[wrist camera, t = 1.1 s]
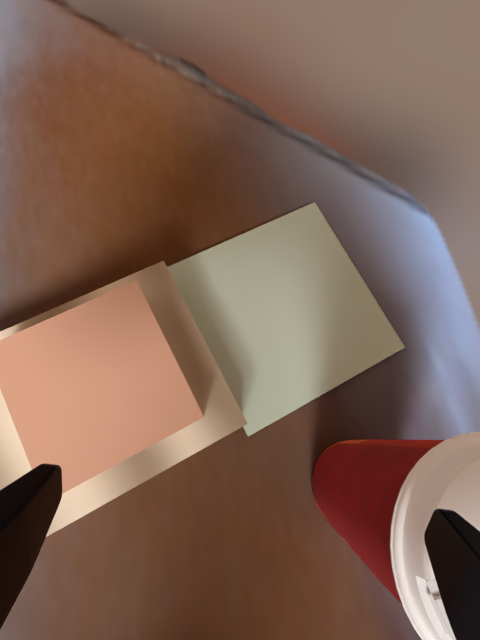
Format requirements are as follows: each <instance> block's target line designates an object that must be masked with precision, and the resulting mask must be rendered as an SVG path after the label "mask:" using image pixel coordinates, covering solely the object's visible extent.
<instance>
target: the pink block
mask: <svg viewBox="0 0 480 640" xmlns="http://www.w3.org/2000/svg"><path fill="white" fill-rule="evenodd" d="M0 390H1V392H2V395H3V397H4V400H5V403H6V405H7V408H8V410H9V413H10V415H11V418H12V420H13V423H14V425H15V428H16V430H17V433H18V436H19V438H20V441H21V443H22V446H23V448H24V451H25V453H26V456H27V458H28V461H29V463H30V466H31V469H34V468H35V467H37V466H38V465H40V464H43V463H47V464H56V465H59V466H60V467H61V469H62V494H63V493H65V492H67V491H68V490H70V489H72V488H74V487H76V486H78V485H80V484H81V483H83V482H85V481H87V480H89V479H91V478H92V477H94V476H96V475H98V474H100V473H102V472H104V471H105V470H107V469H109V468H111V467H113V466H115V465H116V464H118V463H120V462H122V461H124V460H126V459H128V458H129V457H131V456H133V455H135V454H137V453H139V452H140V451H142V450H144V449H146V448H148V447H150V446H152V445H153V444H155V443H157V442H159V441H161V440H163V439H164V438H166V437H168V436H170V435H172V434H174V433H176V432H177V431H179V430H181V429H183V428H185V427H187V426H188V425H190V424H192V423H194V422H196V421H198V420H200V419H201V418H203V417H204V416H203V414H202V412H201V410H200V408H199V406H198V404H197V402H196V399H195V397H194V395H193V393H192V391H191V389H190V387H189V385H188V383H187V381H186V379H185V377H184V375H183V373H182V371H181V369H180V367H179V365H178V363H177V361H176V359H175V357H174V355H173V353H172V351H171V349H170V347H169V345H168V343H167V341H166V339H165V337H164V335H163V333H162V331H161V329H160V327H159V325H158V323H157V321H156V319H155V317H154V314H153V312H152V310H151V308H150V306H149V304H148V302H147V300H146V298H145V296H144V294H143V292H142V290H141V288H140V286H139V284H138V282H137V280H136V281H134V282H131V283H129V284H127V285H124V286H122V287H120V288H118V289H115V290H113V291H111V292H109V293H106V294H104V295H102V296H99V297H97V298H95V299H93V300H90V301H88V302H86V303H84V304H81V305H79V306H77V307H74V308H72V309H70V310H68V311H65V312H63V313H61V314H59V315H56V316H54V317H52V318H49V319H47V320H45V321H43V322H40V323H38V324H36V325H34V326H31V327H29V328H27V329H24V330H22V331H20V332H18V333H15V334H13V335H11V336H9V337H6V338H4V339H2V340H0Z"/></svg>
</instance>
